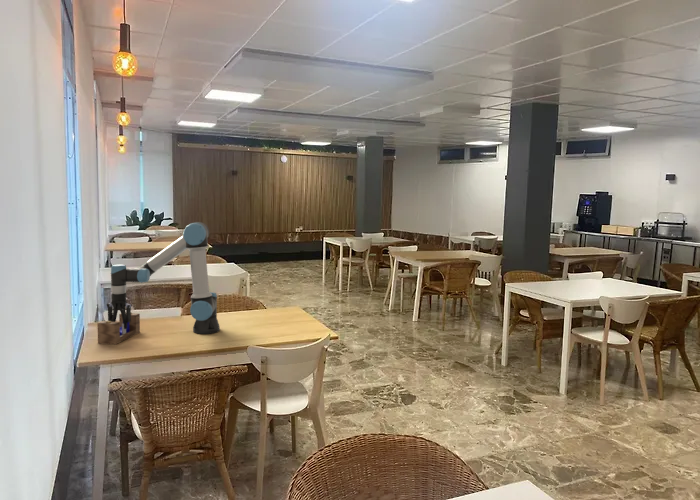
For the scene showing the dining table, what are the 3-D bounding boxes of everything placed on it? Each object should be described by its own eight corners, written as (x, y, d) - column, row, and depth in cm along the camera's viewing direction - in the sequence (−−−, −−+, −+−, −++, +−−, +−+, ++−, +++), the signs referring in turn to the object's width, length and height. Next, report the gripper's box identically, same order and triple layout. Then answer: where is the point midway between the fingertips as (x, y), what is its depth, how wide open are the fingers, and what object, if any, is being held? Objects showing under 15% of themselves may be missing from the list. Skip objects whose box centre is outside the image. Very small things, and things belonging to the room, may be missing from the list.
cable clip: (122, 331, 285) (121, 321, 284) (129, 332, 284) (129, 321, 284) (109, 337, 273) (108, 326, 272) (116, 338, 272) (116, 327, 272)
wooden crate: (139, 332, 290) (139, 312, 289) (115, 344, 267) (115, 322, 265) (123, 331, 291) (123, 311, 290) (97, 343, 268) (97, 321, 267)
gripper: (137, 292, 279) (138, 333, 281) (108, 290, 281) (108, 331, 284) (130, 294, 272) (130, 337, 274) (99, 293, 274) (100, 334, 276)
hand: (119, 334), depth 279 cm, fingers closed on cable clip, 4 cm apart
